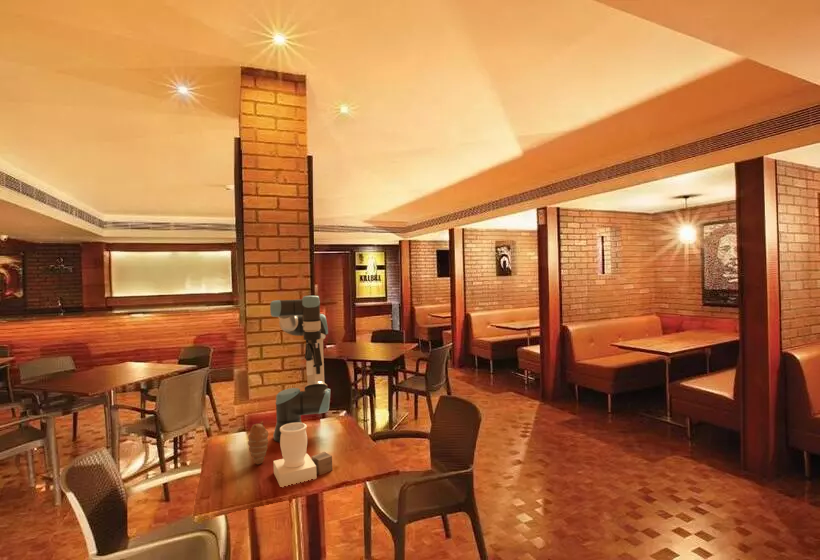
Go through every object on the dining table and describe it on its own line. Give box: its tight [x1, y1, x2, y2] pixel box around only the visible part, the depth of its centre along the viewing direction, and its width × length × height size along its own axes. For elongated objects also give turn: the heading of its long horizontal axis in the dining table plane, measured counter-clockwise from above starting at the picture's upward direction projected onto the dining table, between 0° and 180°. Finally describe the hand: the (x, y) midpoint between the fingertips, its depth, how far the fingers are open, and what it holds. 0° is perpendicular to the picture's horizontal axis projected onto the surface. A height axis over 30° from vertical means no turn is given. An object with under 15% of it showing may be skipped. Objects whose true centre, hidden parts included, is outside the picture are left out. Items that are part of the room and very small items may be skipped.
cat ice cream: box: [247, 420, 269, 465], centre depth 186 cm, size 9×8×18 cm
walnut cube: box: [311, 451, 333, 476], centre depth 178 cm, size 6×6×6 cm
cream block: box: [273, 452, 318, 488], centre depth 174 cm, size 14×14×5 cm
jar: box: [279, 422, 308, 468], centre depth 174 cm, size 11×10×15 cm
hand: (313, 377), depth 192 cm, fingers open, 13 cm apart
